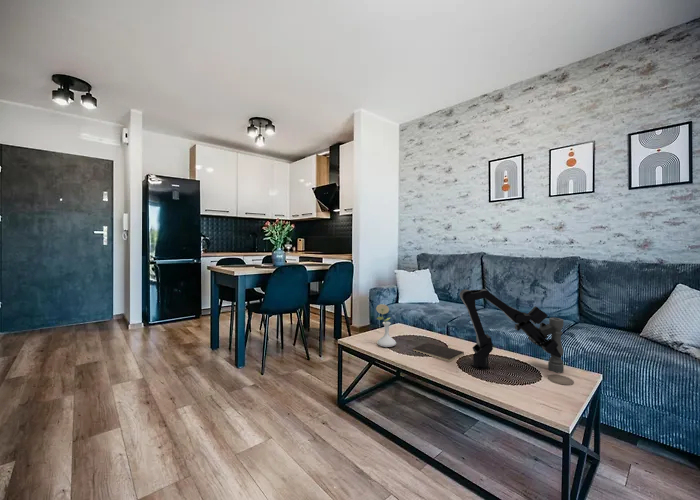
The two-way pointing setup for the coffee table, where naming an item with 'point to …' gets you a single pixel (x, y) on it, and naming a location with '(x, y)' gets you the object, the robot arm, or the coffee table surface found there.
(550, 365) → the candle holder
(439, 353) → the hardcover book
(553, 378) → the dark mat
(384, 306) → the flower in vase
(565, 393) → the coffee table surface
